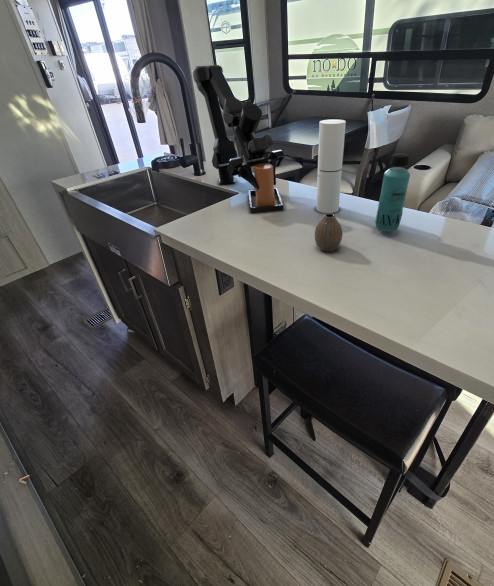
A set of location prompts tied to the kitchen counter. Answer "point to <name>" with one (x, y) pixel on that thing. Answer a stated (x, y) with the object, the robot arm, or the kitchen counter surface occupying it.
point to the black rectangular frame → (265, 208)
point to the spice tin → (264, 184)
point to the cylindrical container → (330, 164)
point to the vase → (328, 233)
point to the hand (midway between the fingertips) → (266, 186)
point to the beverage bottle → (393, 194)
